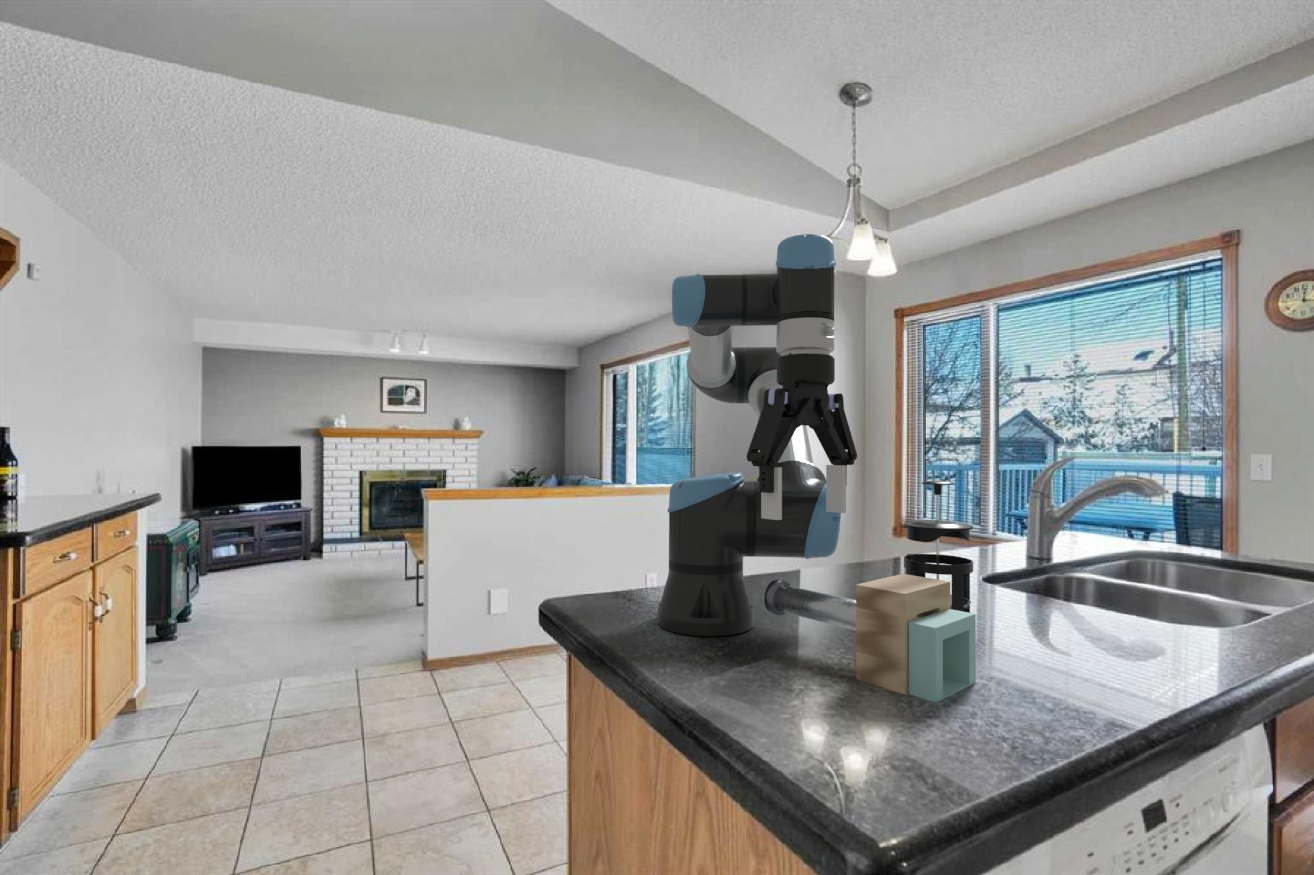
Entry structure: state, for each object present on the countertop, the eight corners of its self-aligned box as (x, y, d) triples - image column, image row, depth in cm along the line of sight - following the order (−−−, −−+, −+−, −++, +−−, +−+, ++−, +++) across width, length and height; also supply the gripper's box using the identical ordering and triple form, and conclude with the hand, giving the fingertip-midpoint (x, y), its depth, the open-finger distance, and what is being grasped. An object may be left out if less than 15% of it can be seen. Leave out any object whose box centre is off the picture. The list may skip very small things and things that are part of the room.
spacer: (908, 706, 70) (908, 622, 70) (949, 686, 76) (949, 608, 76) (935, 715, 68) (935, 628, 68) (975, 694, 73) (975, 614, 73)
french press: (994, 654, 87) (993, 482, 87) (930, 659, 85) (930, 483, 85) (939, 630, 99) (939, 478, 99) (883, 633, 97) (882, 478, 97)
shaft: (764, 616, 88) (764, 582, 88) (786, 610, 91) (786, 577, 91) (910, 655, 72) (910, 613, 72) (931, 646, 75) (931, 606, 75)
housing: (856, 690, 74) (856, 584, 74) (902, 670, 81) (902, 573, 81) (905, 706, 70) (905, 593, 70) (950, 684, 76) (950, 581, 76)
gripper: (764, 342, 76) (764, 525, 75) (882, 360, 91) (882, 511, 91) (718, 349, 81) (718, 519, 81) (837, 365, 97) (837, 507, 97)
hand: (805, 515), depth 86 cm, fingers open, 13 cm apart
